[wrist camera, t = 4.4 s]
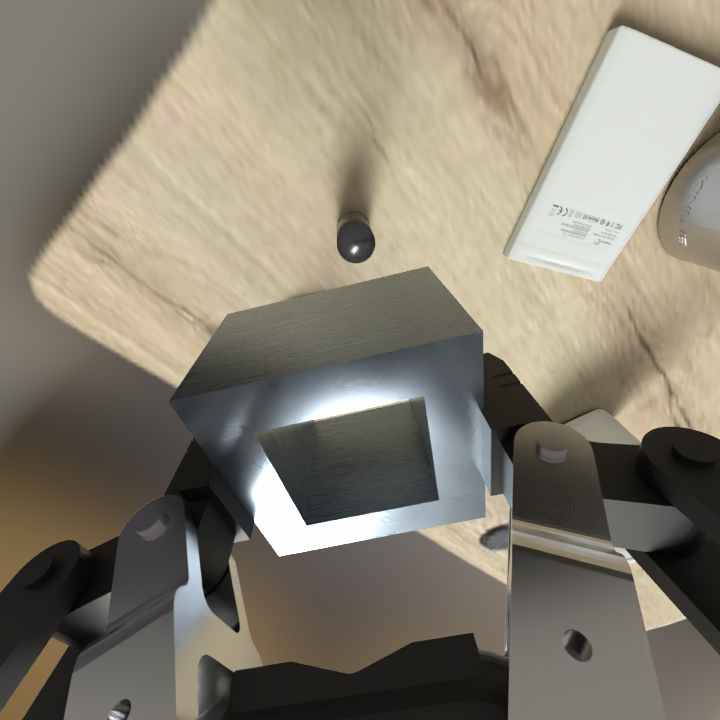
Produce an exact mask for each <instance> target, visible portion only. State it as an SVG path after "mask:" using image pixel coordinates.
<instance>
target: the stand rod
mask: <svg viewBox="0 0 720 720" xmlns="http://www.w3.org/2000/svg"><path fill="white" fill-rule="evenodd" d="M337 248H338V251H339V253H340V255H341V256H342V257H343V258H344V259H345V260H347V261H348V262H351V263H361V262H363V261H365V260H367V259H368V258H369V257H370V256H371V255H372V253H373V251H374V248H375V238H374V235H373V233H372V231H371V229H370V226H369V224H368V222H367V220H366V218H365V217H364V216H363V215H362V214H360V213H358V212H348V213H346V214H344V215H343V216H342V217H341V218H340V220H339V222H338V225H337Z"/></svg>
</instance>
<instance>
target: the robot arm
mask: <svg viewBox="0 0 720 720" xmlns="http://www.w3.org/2000/svg"><path fill="white" fill-rule="evenodd" d="M658 231H659V238H660V241H661V244H662V246H663V247H664V249H665V250H666V251H667V252H668V253H669V254H670V255H672V256H674V257H676V258H677V259H681V260H684V261H687V262H691V263H694V264H697V265H700V266H704V267H707V268H710V269H713V270H717V271H720V132H719V133H718V134H716V135H715V136H714V137H712V138H711V139H710V140H709V141H708V142H707V143H705V144H704V145H703V146H702V147H701V148H700V149H699V150H698V151H697V152H696V153H695V154H694V155H693V156H692V157H691V158H690V159H689V161H688V162H687V163H686V164H685V165H684V167H683V168H682V169H681V171H680V172H679V174H678V175H677V176H676V178H675V179H674V181H673V183H672V185H671V187H670V188H669V190H668V192H667V194H666V196H665V199H664V202H663V204H662V207H661V210H660V215H659V222H658ZM483 374H484V411H481V458H482V478H483V480H484V482H485V484H486V487H487V489H488V491H489V493H490V495H491V496H493V495H498V494H504V496H505V498H506V500H507V502H508V504H509V506H510V512H509V540H508V570H507V599H506V622H505V647H504V656H502V655H499V654H496V653H493V652H490V651H484V650H480V649H478V648H477V645H476V641H475V638H474V634H473V633H469V634H462V635H456V636H450V637H444V638H437V639H431V640H425V641H418V642H413V643H410V644H409V645H407V646H405V647H403V648H401V649H399V650H397V651H395V652H394V653H392V654H390V655H388V656H386V657H384V658H382V659H380V660H379V661H377V662H375V663H373V664H371V665H369V666H367V667H366V668H364V669H362V670H360V671H358V672H355V673H352V674H346V673H340V672H336V671H332V670H327V669H322V668H318V667H313V666H309V665H303V664H299V663H295V662H287V663H280V664H273V665H268V666H263V664H262V661H261V658H260V656H259V654H258V652H257V650H256V648H255V646H254V644H253V642H252V639H251V637H250V633H249V629H248V624H247V619H246V614H245V609H244V603H243V598H242V593H241V589H240V583H239V578H238V573H237V568H236V564H235V560H234V559H233V557H232V556H231V550H232V547H233V543H234V542H239V541H245V540H250V538H251V533H252V529H253V524H254V519H253V518H252V517H251V515H250V514H249V512H248V511H247V510H246V508H245V507H244V505H243V504H242V503H241V501H240V500H239V498H238V497H237V496H236V494H235V493H234V491H233V490H232V488H231V487H230V486H229V484H228V483H227V481H226V480H225V479H224V477H223V476H222V474H221V473H220V472H219V470H218V469H217V467H216V466H214V465H213V463H212V462H211V460H210V459H209V458H208V456H207V455H206V453H205V452H204V451H203V449H202V448H201V446H200V445H199V444H198V442H197V441H196V439H195V438H194V437H193V441H191V443H190V445H189V447H188V449H187V451H188V452H187V453H185V455H184V457H183V459H182V461H181V463H180V465H179V467H178V469H177V471H176V473H175V475H174V477H173V479H172V481H171V483H170V485H169V487H168V488H167V491H166V492H165V495H164V496H161V497H159V498H156V499H154V500H152V501H151V502H149V503H147V504H146V505H144V506H143V507H142V508H141V509H139V510H138V511H137V512H136V513H135V514H134V515H133V516H132V517H131V518H130V520H129V521H128V522H127V523H126V525H125V526H124V528H123V530H122V532H121V534H120V536H118V537H116V538H113V539H111V540H109V541H107V542H105V543H103V544H101V545H99V546H97V547H95V548H93V549H91V550H87V549H86V548H84V547H83V546H82V545H80V544H79V543H78V542H76V541H73V540H67V541H63V542H59V543H57V544H55V545H52V546H51V547H49V548H47V549H45V550H44V551H42V552H41V553H39V554H38V555H37V556H35V557H34V558H33V559H32V560H30V561H29V562H28V563H27V564H26V565H25V566H24V567H23V568H22V569H21V570H20V571H19V572H18V573H17V574H16V575H15V576H14V578H13V579H12V580H11V581H10V582H9V584H8V585H7V586H6V587H5V588H4V589H3V591H2V592H1V593H0V712H1V710H2V709H3V707H4V706H5V704H6V703H7V701H8V700H9V698H10V697H11V696H12V694H13V693H14V691H15V690H16V688H17V687H18V685H19V684H20V682H21V681H22V679H23V678H24V676H25V675H26V674H27V672H28V671H29V669H30V668H31V666H32V665H33V663H34V662H35V660H36V659H37V657H38V656H39V654H40V653H41V651H42V650H43V648H44V647H45V646H46V644H47V643H48V641H49V640H50V638H51V637H53V638H55V639H56V640H58V641H61V642H63V643H65V644H67V645H69V647H68V648H67V650H66V651H65V653H64V655H63V656H62V658H61V659H60V661H59V663H58V664H57V666H56V668H55V669H54V670H53V672H52V674H51V675H50V677H49V678H48V680H47V681H46V683H45V685H44V686H43V688H42V689H41V691H40V692H39V694H38V696H37V697H36V699H35V700H34V702H33V704H32V705H31V707H30V708H29V710H28V712H27V713H26V715H25V716H24V718H23V719H22V720H666V716H665V711H664V707H663V703H662V699H661V694H660V690H659V686H658V682H657V677H656V673H655V669H654V664H653V660H652V656H651V652H650V647H649V643H648V639H647V634H646V630H645V626H644V622H643V617H642V613H641V609H640V605H639V600H638V596H637V592H636V588H635V583H634V579H633V576H632V572H631V569H630V566H629V564H628V562H627V560H626V558H625V557H624V555H623V554H621V553H618V552H616V551H615V549H614V547H618V548H625V550H626V551H627V552H628V553H629V554H630V555H631V556H632V557H633V559H634V560H635V561H636V562H637V563H638V564H639V565H640V566H641V567H642V569H643V570H644V571H645V572H646V573H647V574H648V575H649V576H650V578H651V579H652V580H653V581H654V582H655V583H656V584H657V585H658V587H659V588H660V589H661V590H662V591H663V592H664V593H665V594H666V595H667V597H668V598H669V599H670V600H671V601H672V602H673V603H674V604H675V606H676V607H677V608H678V609H679V610H680V611H681V612H682V613H683V615H684V616H685V617H686V618H687V619H688V620H689V621H690V622H691V623H692V624H693V626H694V627H695V628H696V629H697V630H698V631H699V632H700V634H701V635H702V636H703V637H704V638H705V639H706V640H707V641H708V643H709V644H710V645H711V646H712V647H713V648H714V649H715V650H716V651H717V653H718V654H719V655H720V440H719V439H717V438H715V437H713V436H711V435H708V434H705V433H703V432H700V431H696V430H692V429H687V428H681V427H661V428H657V429H653V430H651V431H649V432H648V433H647V434H645V436H644V437H643V439H642V442H641V445H629V444H613V443H599V442H592V441H588V440H587V439H586V438H585V437H584V436H583V435H582V434H580V433H579V432H578V431H576V430H574V429H572V428H571V427H568V426H566V425H563V424H560V423H556V422H553V421H552V420H551V419H550V418H549V416H548V415H547V414H546V413H545V411H544V410H543V409H542V408H541V407H540V405H539V404H538V403H537V402H536V400H535V399H534V398H533V397H532V395H531V394H530V393H529V392H528V390H527V389H526V388H525V387H524V386H523V384H521V383H520V381H519V379H518V378H517V377H516V376H515V374H513V372H512V371H511V369H510V368H509V367H508V366H507V365H506V363H505V362H504V361H503V360H501V359H499V358H497V357H496V356H494V355H492V354H490V353H485V354H483Z"/></svg>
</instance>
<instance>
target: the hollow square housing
mask: <svg viewBox="0 0 720 720" xmlns="http://www.w3.org/2000/svg"><path fill="white" fill-rule="evenodd" d="M407 399H409V402H405V403H400V404H396V405H391V406H386V407H382V408H377V409H372V410H368V411H363V412H358V413H354V414H349V415H344V416H340V417H335V418H330V419H326V420H321V421H316V422H314V419H319V418H324V417H328V416H333V415H338V414H342V413H347V412H352V411H356V410H361V409H366V408H370V407H375V406H380V405H384V404H389V403H393V402H398V401H403V400H407ZM169 403H170V404H171V406H172V407H173V409H174V410H175V411H176V413H177V414H178V416H179V417H180V418H181V420H182V421H183V423H184V424H185V425H186V427H187V428H188V430H189V431H190V432H191V434H192V435H193V437H194V438H195V439H196V441H197V442H198V444H199V445H200V446H201V448H202V449H203V451H204V452H205V453H206V455H207V456H208V458H209V459H210V460H211V462H212V463H213V465H214V466H216V467H217V469H218V470H219V472H220V473H221V474H222V476H223V477H224V479H225V480H226V481H227V483H228V484H229V486H230V487H231V488H232V490H233V491H234V493H235V494H236V496H237V497H238V498H239V500H240V501H241V503H242V504H243V505H244V507H245V508H246V510H247V511H248V512H249V514H250V515H251V517H252V518H253V519H254V522H255V523H256V525H257V526H258V527H259V529H260V530H261V532H262V533H263V534H264V536H265V537H266V539H267V540H268V541H269V543H270V544H271V545H272V547H273V548H274V549H275V551H276V552H277V554H278V555H279V556H282V555H287V554H293V553H298V552H304V551H309V550H314V549H319V548H325V547H330V546H335V545H340V544H346V543H351V542H356V541H361V540H367V539H372V538H377V537H383V536H388V535H393V534H399V533H404V532H409V531H414V530H420V529H425V528H430V527H435V526H441V525H446V524H451V523H457V522H462V521H467V520H472V519H478V518H483V517H485V482H484V480H483V478H482V458H481V411H484V374H483V330H482V329H481V328H480V327H479V326H478V325H477V323H476V322H475V321H474V320H473V319H472V318H471V316H470V315H469V314H468V313H467V312H466V310H465V309H464V308H463V307H462V306H461V305H460V303H459V302H458V301H457V300H456V299H455V298H454V296H453V295H452V294H451V293H450V292H449V291H448V289H447V288H446V287H445V286H444V285H443V283H442V282H441V281H440V280H439V279H438V278H437V276H436V275H435V274H434V273H433V272H432V271H431V269H430V268H429V267H428V266H427V267H423V268H419V269H415V270H411V271H407V272H402V273H398V274H394V275H390V276H386V277H381V278H377V279H373V280H369V281H365V282H361V283H356V284H352V285H348V286H344V287H340V288H335V289H331V290H327V291H323V292H319V293H315V294H310V295H306V296H302V297H298V298H294V299H289V300H285V301H281V302H277V303H273V304H269V305H264V306H260V307H256V308H252V309H248V310H243V311H239V312H235V313H231V314H227V316H226V317H225V319H224V320H223V321H222V323H221V324H220V326H219V327H218V329H217V330H216V332H215V333H214V335H213V336H212V338H211V339H210V341H209V342H208V344H207V345H206V347H205V348H204V350H203V351H202V353H201V354H200V356H199V357H198V359H197V360H196V362H195V363H194V364H193V366H192V367H191V369H190V370H189V372H188V373H187V375H186V376H185V378H184V379H183V381H182V382H181V384H180V385H179V387H178V388H177V390H176V391H175V393H174V394H173V396H172V397H171V399H170V400H169Z"/></svg>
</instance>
